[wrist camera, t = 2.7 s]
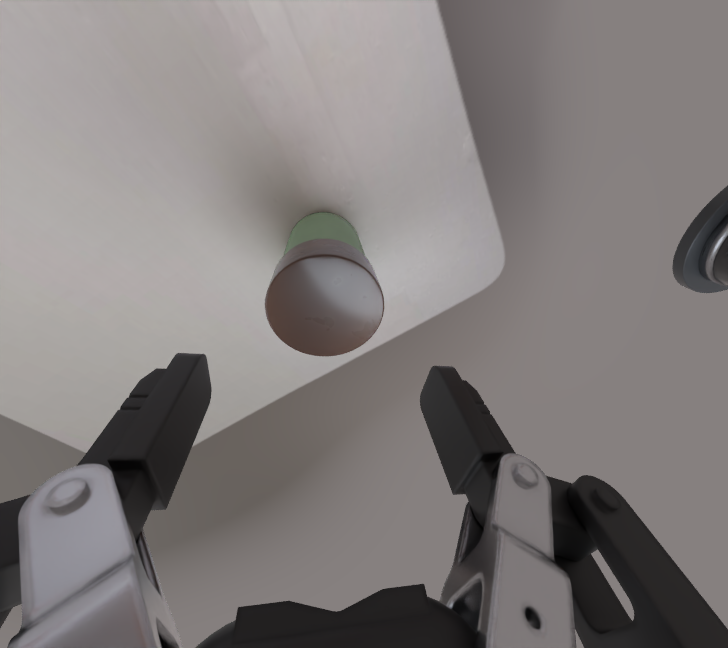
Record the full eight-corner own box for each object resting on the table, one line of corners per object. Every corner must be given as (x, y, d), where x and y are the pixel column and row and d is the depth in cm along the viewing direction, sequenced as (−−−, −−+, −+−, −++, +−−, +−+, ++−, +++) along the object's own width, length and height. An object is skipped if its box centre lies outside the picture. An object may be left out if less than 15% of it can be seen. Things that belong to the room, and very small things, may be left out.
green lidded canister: (365, 218, 21) (382, 249, 15) (354, 285, 24) (364, 332, 18) (289, 206, 20) (276, 234, 14) (287, 278, 23) (275, 325, 17)
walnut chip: (386, 245, 15) (396, 263, 13) (366, 334, 18) (372, 359, 16) (272, 230, 14) (263, 246, 12) (272, 328, 17) (265, 354, 15)
